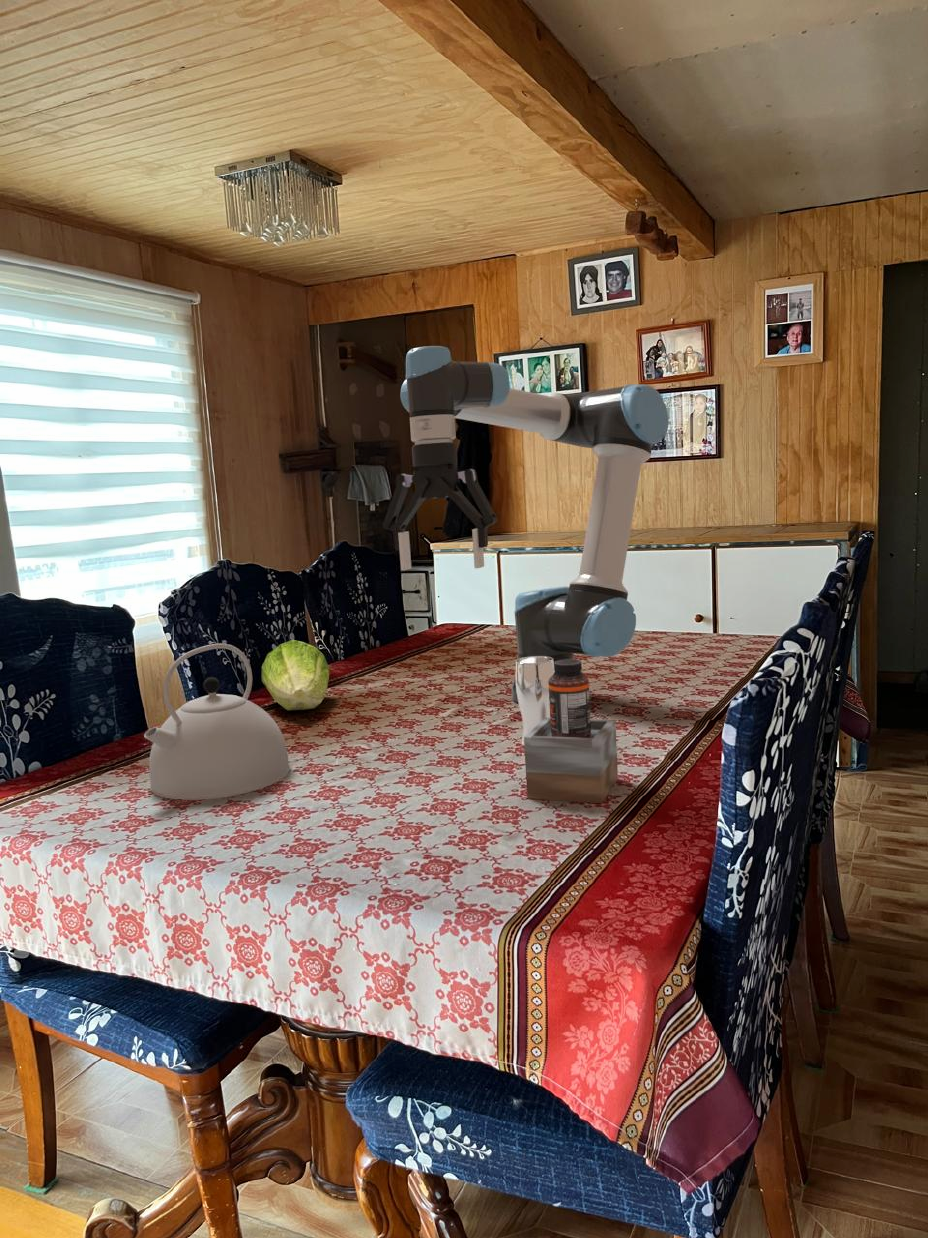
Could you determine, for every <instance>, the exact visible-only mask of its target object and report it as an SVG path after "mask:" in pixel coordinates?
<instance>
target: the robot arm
mask: <svg viewBox="0 0 928 1238" xmlns="http://www.w3.org/2000/svg"><path fill="white" fill-rule="evenodd" d="M451 356H452V355H451V350H450V349H449V348H448V347H446V346H442V345H429V346H419V347H414V348H411V349H410V350H409V351H408V352H406V356H405V380H404V381H403V383H402V385H401V387H400V394H399V395H400V401H401V404H402V406H403V408H404V409H405V410H406V412H408V413H409V426H410V441H411V442H412V443H414V445H412V447H411V455H412V456H411V457H412V467H413V473H412V475H411V474H408V473H400V474H397V475H396V479H395V480H396V481H395V489H394V492H393V495H392V498H391V500H390V503H389V505H388V508H387V510H386V511H387V512H386V514H385V517H384V521H383V522H382V528H383V529H384V530H389V531H391V532H392V533H393V539H394V541H393V542H394V549H395V551H396V552H399V561H400V571H408V570H411V569H412V559H411V557H412V556H411V543H410V531H406V528H407V526H408V524H410V521H412V519H413V517H414V516H415V514H416V513H417V511H418V510H419V508H420V507H421V505H422V504H423V502H425V500H432V499H446V498H449V499H450V500H451V501H453V502H454V503H455V504H456V506H457V507H459V509H460V510H461V511H462V512H463V513H464V514H465V516H466V517H467V518H468V519H469V520H470V521H471V522H472V523H473V525H474V526H475V528H473V529H472V528H471V531H472V532H471V533H472V535H471V536H472V550H473V565H474V569H480V568H484V567H485V557H484V554H485V553H484V548H487V547H488V546H489V537H488V534H489V533H488V528H489V527H490V526H491V525H495V524H497V522H498V521H499V520H498V517H497V516H498V515H496V513H495V510H493V507H492V505H491V503H490V501H489V500H488V498H487V496H486V495H485V493H484V491H483V488H482V487H481V485H480V483H479V482H478V474H477V471H476V469H474V468H469V469H468V468H466V469H465V470H462V471H459V468H458V451H457V444H456V443H455V442H453V440H455V439H456V438H457V437H456V435H457V434H456V423H455V421H456V420H455V419H459V420H464V421H469V422H470V421H471V422H476V423H482V424H488V425H493V426H496V427H502V428H503V427H504V428H507V429H515V430H519V431H525V432H529V433H530V432H531V433H535V434H537V433H538V434H539V436H541V437H542V438H543V439H544V440H547V441H552V442H558V443H561V444H566V445H572V446H575V447H581V448H588V449H591V451H592V452H593V453H594V455H595V456H596V457H597V465H596V470H595V477H594V478H595V479H594V482H593V489H592V494H591V500H590V506H589V507H590V508H589V511H588V519H587V525H586V530H585V537H584V541H583V548H582V555H581V562H580V567H579V572H578V573H579V574H578V575H577V577H576V578H575V579H573V580H572V581H570V582H569V586H556V587H550V588H542V589H536V590H530V591H524V592H521V593H519V594H517V596H516V597H515V602H514V606H515V609H514V620H515V633H516V634H515V635H516V646H517V647H516V648H517V649H516V650H517V659H519V658H523V657H529V656H548V657H552V658H553V662H555V661H557V660H563V659H574V658H575V657H574V654H577V655H585V656H590V657H592V658H600V657H603V658H604V657H605V658H609V657H610V658H611V657H614V656H616V655H618V654H620V653H622V652H623V650H625V649H626V648H627V647H628V645H629V644H630V643H631V641H632V639H633V637H634V635H635V634H634V633H635V631H636V626H637V615H636V613H634V612H635V608H634V606H633V604H632V603H631V602H629V601H628V597H629V596H628V595H629V591H628V590H627V588H626V587H625V586H624V584H623V579H624V572H625V567H626V561H627V555H628V554H627V553H628V548H629V543H630V542H629V541H630V536H631V530H632V524H633V518H634V517H633V516H634V510H635V506H636V505H635V504H636V499H637V494H638V487H639V482H640V481H639V479H640V474H641V469H642V465H644V463H646V462H647V461H648V460H650V458H651V456H652V451H653V445H656V444H658V443H659V442H662V441H663V438H665V437H666V434H667V432H668V428H669V422H670V421H669V412H668V408H667V404H666V403H665V401H664V399H663V397H662V395H661V393H660V392H659V391H658V390H657V389H655V388H654V387H653V386H651V385H649V384H632V383H631V384H630V383H629V384H626V385H624V386H619V387H612V388H606V389H599V390H592V391H586V392H579V393H569V394H568V393H567V394H566V393H565V394H564V393H559V392H551V393H549V394H547V395H545V394H540V393H536V392H530V391H527V390H526V391H525V390H520V389H516V388H511V385H510V375H509V373H508V371H507V369H506V368H505V367H504V366H503V365H502V364H500V363H497V362H488V361H487V360H486V361H455V360H452V357H451ZM460 480H462V482H463V483H464V484H465V485H466V486H467V489H468V491H469V492H470V494H471V496H472V499H473V500H474V502H475V504H476V505H477V508H478V509H479V511H480V512H479V511H478V510H477V509H476V508H475V506H474V505H472V503H471V502H470V500H468V498H467V497H466V496H465V495H464V493H463V491H462V490H461V489H460V487H458V486H457V485H458V483H460ZM412 483H413V485H414V486H415V487H416V490H415V491H414V493H413V494H412V495H411V499H410V500H409V502H408V503H407V505H406V506H405V508H404V509H403V511H402V512H401V510H402V507H403V504H404V503H405V502H404V501H405V498H406V496H407V493H408V490H409V488H410V487H411V485H412ZM400 513H401V514H400ZM511 700H512V701H513V702H515V703H517V704H519V702H518V698H517V692H516V673H515V675H514V678H513V683H512V686H511Z"/></svg>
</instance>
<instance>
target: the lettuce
mask: <svg viewBox="0 0 928 1238" xmlns="http://www.w3.org/2000/svg"><path fill="white" fill-rule="evenodd" d="M329 679H330V667H329V665H328V662H327V660H326V657H325V655H324V654H323V653H322V652H321V651H320V650H319V649H318V648H317V647H316V646H314V645H311V644H309V643H306V642H304V641H300V640H295V639H291V640H289V641H286V642H283V643H281V644H279V645H278V646H276V647H275V648H273V650H271V651H270V652H268V653H267V654H266V657H265V659H264V662H263V663H262V666H261V682H262V683H263V685H264V686H265V688H266V689H267V691H268V692H269V693H270V694H269V695H270V696H271V697H272V699H274V701H275V702H276V704H277V703H278V704H279V705H280V706H281V707H283V708H284V709H285V710H287V711H304V710H305V711H306V710H311V709H315V708H317V707H318V706H319V705H320V704H321V703H322V701H323V700H324V699H325V698H324V697H325V695H326V693H327V690H328V684H329V681H330V680H329Z"/></svg>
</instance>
